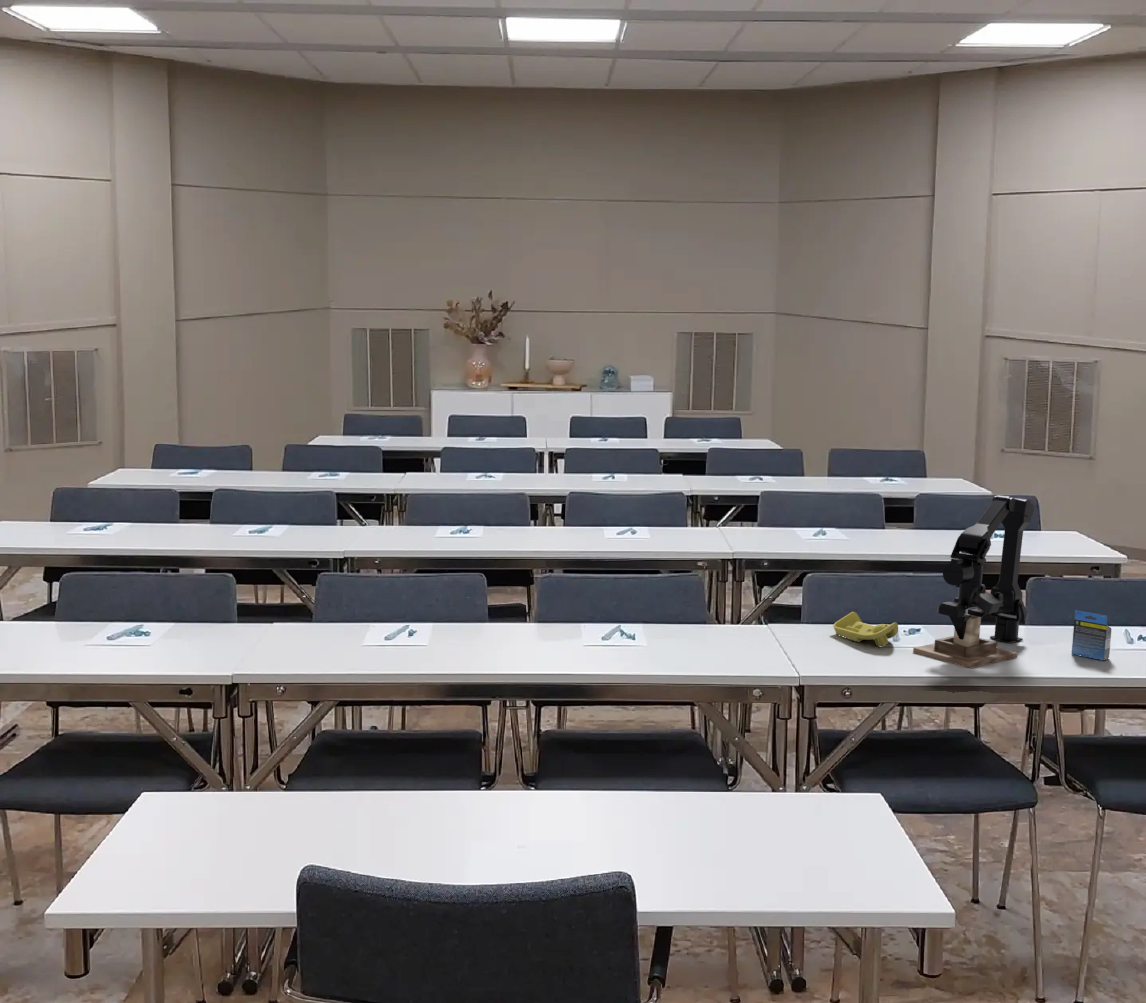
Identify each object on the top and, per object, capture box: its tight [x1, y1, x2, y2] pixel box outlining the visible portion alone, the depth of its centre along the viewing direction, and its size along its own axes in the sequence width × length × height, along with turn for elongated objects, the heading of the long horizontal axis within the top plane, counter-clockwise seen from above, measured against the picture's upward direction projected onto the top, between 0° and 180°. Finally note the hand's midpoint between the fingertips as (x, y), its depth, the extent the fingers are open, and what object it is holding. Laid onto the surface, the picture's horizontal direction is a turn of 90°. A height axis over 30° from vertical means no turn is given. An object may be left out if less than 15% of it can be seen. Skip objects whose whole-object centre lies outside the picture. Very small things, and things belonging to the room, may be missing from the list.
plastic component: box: [832, 611, 899, 647], centre depth 351 cm, size 20×7×10 cm
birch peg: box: [953, 614, 982, 647], centre depth 338 cm, size 4×5×8 cm
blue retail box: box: [1071, 609, 1112, 661], centre depth 340 cm, size 9×4×12 cm, turn 45°
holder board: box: [912, 635, 1018, 669], centre depth 339 cm, size 20×18×4 cm
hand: (966, 638), depth 339 cm, fingers closed on birch peg, 4 cm apart
